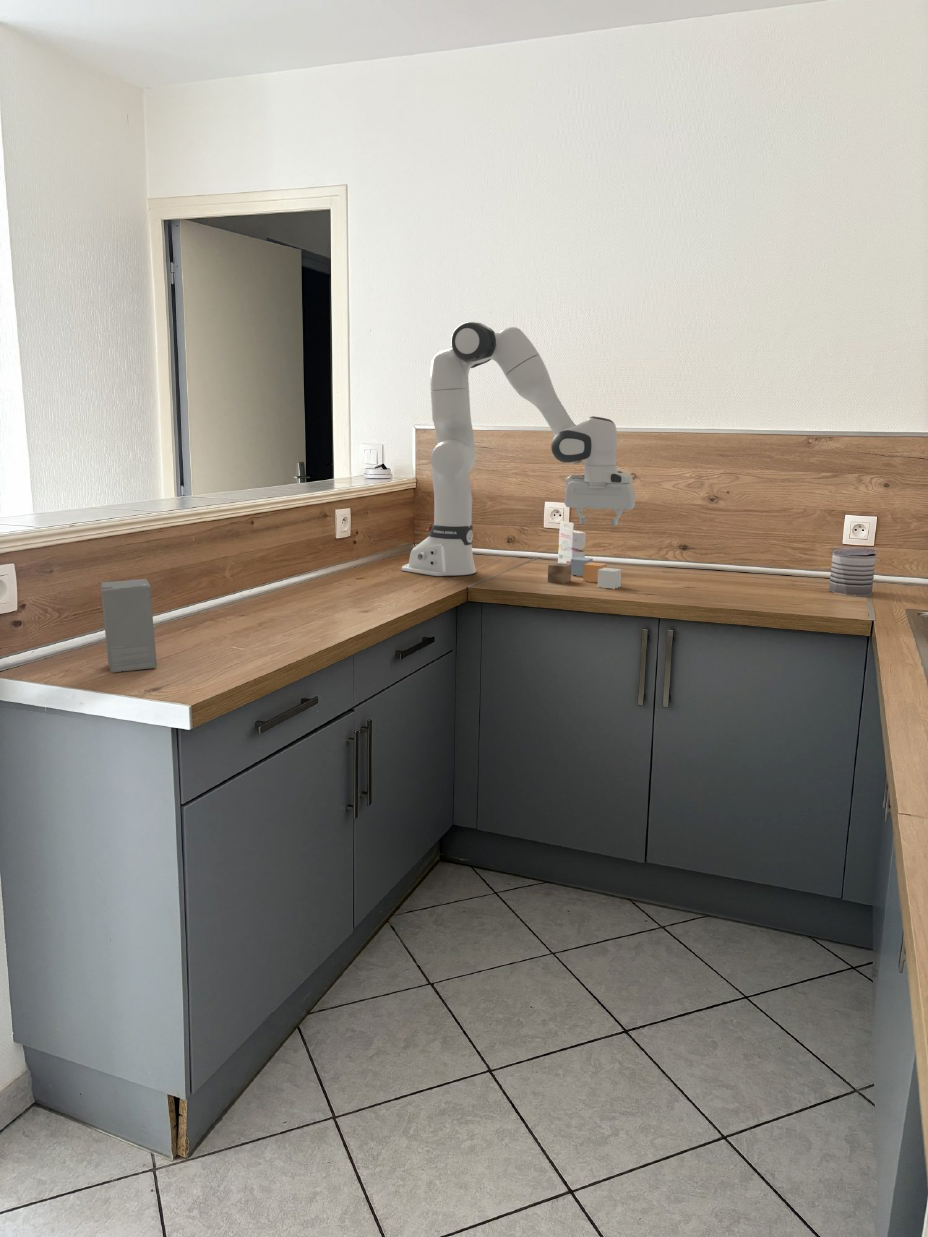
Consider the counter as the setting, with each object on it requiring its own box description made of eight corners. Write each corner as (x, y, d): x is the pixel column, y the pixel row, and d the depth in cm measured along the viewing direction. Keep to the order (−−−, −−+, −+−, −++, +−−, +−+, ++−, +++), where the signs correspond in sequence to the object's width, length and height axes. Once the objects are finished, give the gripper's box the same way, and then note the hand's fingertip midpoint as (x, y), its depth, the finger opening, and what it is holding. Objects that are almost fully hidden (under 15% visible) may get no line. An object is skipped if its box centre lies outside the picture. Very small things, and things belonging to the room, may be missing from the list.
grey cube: (597, 587, 260) (598, 569, 259) (603, 585, 264) (604, 567, 263) (614, 589, 257) (615, 571, 256) (620, 586, 262) (621, 569, 261)
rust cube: (583, 581, 269) (583, 564, 268) (589, 579, 273) (590, 562, 272) (599, 583, 267) (600, 566, 266) (605, 580, 271) (606, 563, 270)
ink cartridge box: (585, 570, 287) (587, 522, 284) (571, 571, 285) (573, 523, 282) (570, 566, 295) (572, 519, 292) (556, 567, 293) (558, 520, 290)
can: (876, 597, 253) (881, 553, 250) (832, 595, 255) (836, 551, 253) (867, 590, 264) (872, 547, 261) (825, 587, 266) (829, 545, 263)
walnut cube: (547, 582, 267) (548, 564, 266) (554, 579, 271) (555, 562, 270) (563, 584, 264) (564, 566, 263) (570, 581, 269) (571, 564, 268)
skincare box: (153, 660, 176) (149, 577, 172) (157, 670, 169) (153, 584, 166) (105, 664, 172) (100, 579, 169) (107, 674, 166) (102, 586, 163)
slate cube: (570, 575, 278) (570, 559, 277) (576, 573, 283) (577, 557, 281) (585, 577, 276) (586, 560, 275) (591, 575, 280) (592, 558, 279)
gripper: (561, 475, 266) (560, 523, 269) (630, 477, 256) (628, 527, 259) (570, 473, 271) (569, 521, 274) (638, 476, 262) (636, 525, 265)
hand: (598, 524), depth 267 cm, fingers open, 8 cm apart
